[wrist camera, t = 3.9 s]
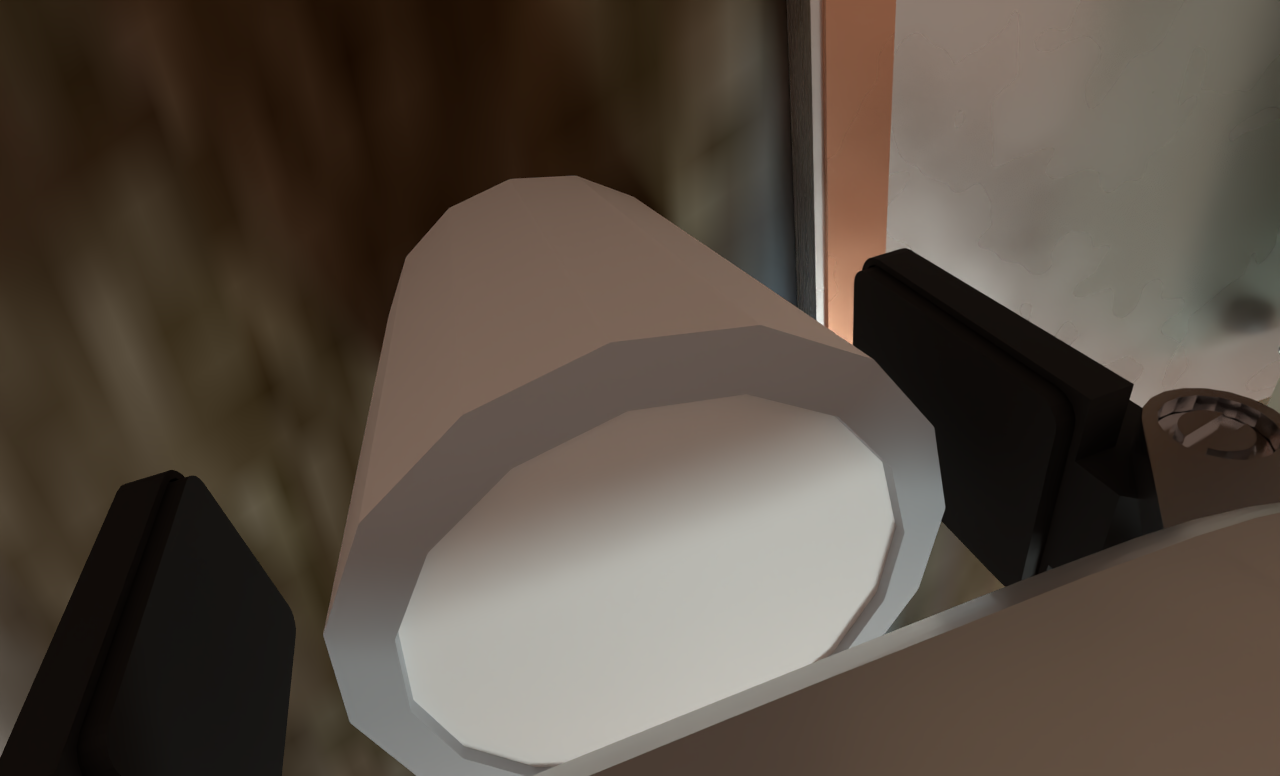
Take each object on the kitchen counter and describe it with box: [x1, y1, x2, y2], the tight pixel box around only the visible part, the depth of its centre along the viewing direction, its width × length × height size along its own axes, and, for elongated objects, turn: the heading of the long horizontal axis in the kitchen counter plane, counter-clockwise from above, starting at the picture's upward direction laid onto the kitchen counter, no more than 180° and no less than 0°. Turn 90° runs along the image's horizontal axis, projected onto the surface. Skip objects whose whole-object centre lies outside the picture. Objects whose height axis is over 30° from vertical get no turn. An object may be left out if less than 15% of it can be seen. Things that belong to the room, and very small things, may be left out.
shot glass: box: [323, 175, 945, 776], centre depth 11 cm, size 7×7×7 cm
